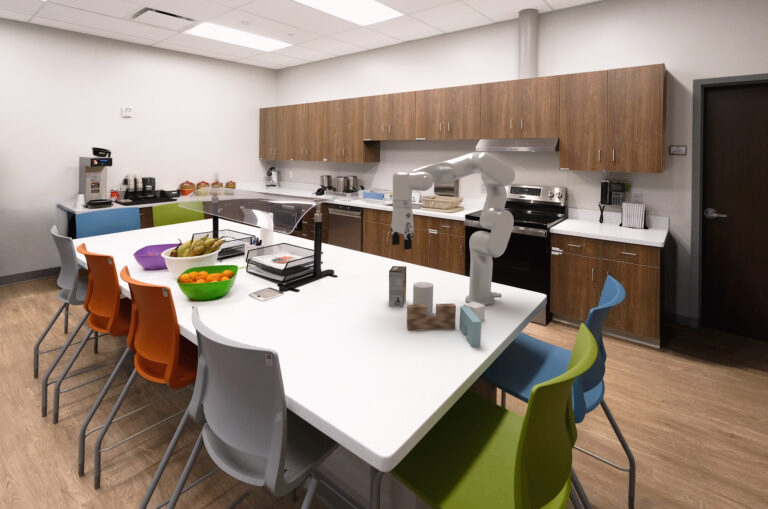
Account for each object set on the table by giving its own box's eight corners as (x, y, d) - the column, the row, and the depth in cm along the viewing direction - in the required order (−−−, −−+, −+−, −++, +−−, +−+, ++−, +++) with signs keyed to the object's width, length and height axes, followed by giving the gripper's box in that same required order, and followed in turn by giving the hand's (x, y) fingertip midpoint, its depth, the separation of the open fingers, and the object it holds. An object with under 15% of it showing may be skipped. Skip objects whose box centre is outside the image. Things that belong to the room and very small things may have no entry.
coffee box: (392, 299, 200) (392, 265, 196) (406, 300, 199) (406, 266, 195) (388, 306, 191) (388, 270, 188) (403, 307, 190) (403, 271, 186)
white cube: (462, 318, 178) (463, 304, 176) (473, 315, 181) (473, 301, 180) (474, 322, 173) (474, 308, 172) (484, 319, 177) (485, 305, 175)
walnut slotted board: (453, 325, 170) (453, 303, 168) (455, 328, 167) (456, 305, 165) (406, 327, 168) (407, 304, 166) (407, 330, 165) (408, 307, 163)
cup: (411, 309, 188) (412, 282, 185) (430, 308, 188) (431, 281, 186) (414, 316, 180) (415, 287, 177) (434, 315, 180) (435, 287, 178)
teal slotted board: (467, 328, 167) (468, 306, 165) (480, 346, 151) (481, 321, 149) (459, 329, 167) (460, 306, 165) (471, 346, 151) (472, 322, 149)
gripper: (421, 205, 168) (421, 250, 171) (399, 201, 183) (399, 242, 186) (404, 206, 164) (404, 252, 168) (383, 202, 179) (383, 243, 183)
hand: (401, 246), depth 177 cm, fingers open, 9 cm apart
